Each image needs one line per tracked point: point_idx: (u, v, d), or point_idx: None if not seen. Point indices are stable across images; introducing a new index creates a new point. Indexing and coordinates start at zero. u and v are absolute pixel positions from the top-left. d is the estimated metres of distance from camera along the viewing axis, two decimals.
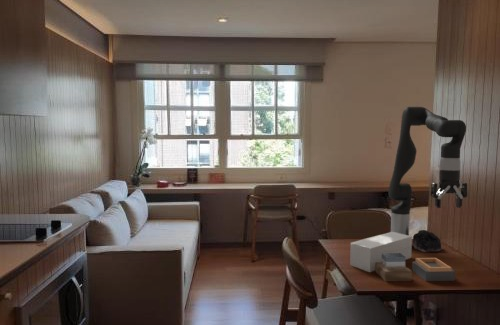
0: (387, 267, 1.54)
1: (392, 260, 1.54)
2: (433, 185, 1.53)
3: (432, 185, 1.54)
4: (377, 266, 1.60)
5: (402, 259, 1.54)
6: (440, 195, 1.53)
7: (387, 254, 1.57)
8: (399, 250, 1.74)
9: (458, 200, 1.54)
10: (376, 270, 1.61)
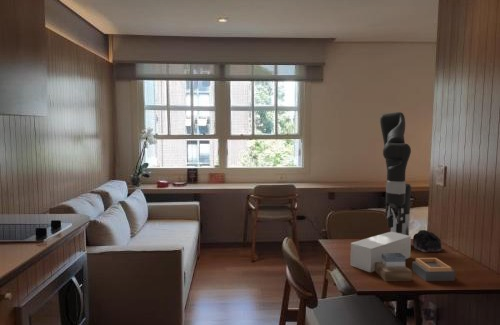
0: (387, 267, 1.54)
1: (392, 260, 1.54)
2: (403, 211, 1.48)
3: (401, 211, 1.48)
4: (377, 266, 1.60)
5: (402, 259, 1.54)
6: None
7: (387, 254, 1.57)
8: (399, 250, 1.74)
9: (391, 220, 1.59)
10: (376, 270, 1.61)
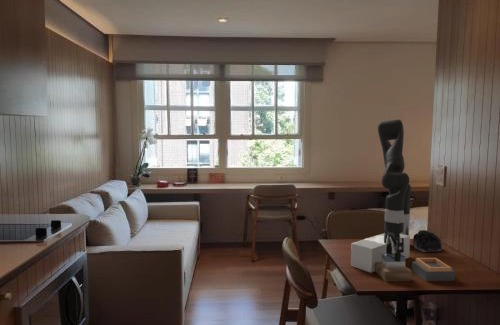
0: (387, 267, 1.54)
1: (392, 260, 1.54)
2: (401, 240, 1.49)
3: (400, 240, 1.49)
4: (377, 266, 1.60)
5: (402, 259, 1.54)
6: None
7: (387, 254, 1.57)
8: None
9: (390, 248, 1.60)
10: (376, 270, 1.61)
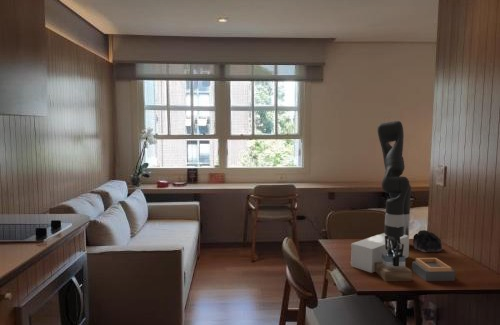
0: (387, 267, 1.54)
1: (392, 260, 1.54)
2: (401, 247, 1.49)
3: (399, 247, 1.49)
4: (377, 266, 1.60)
5: (402, 259, 1.54)
6: None
7: (387, 254, 1.57)
8: None
9: None
10: (376, 270, 1.61)
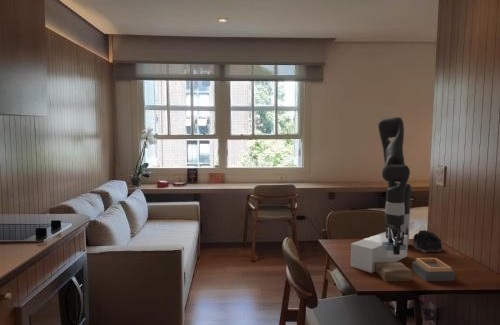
0: (388, 256, 1.54)
1: (393, 248, 1.54)
2: (402, 235, 1.49)
3: (400, 235, 1.49)
4: (377, 266, 1.60)
5: (403, 248, 1.54)
6: None
7: (388, 243, 1.57)
8: None
9: None
10: (376, 270, 1.61)
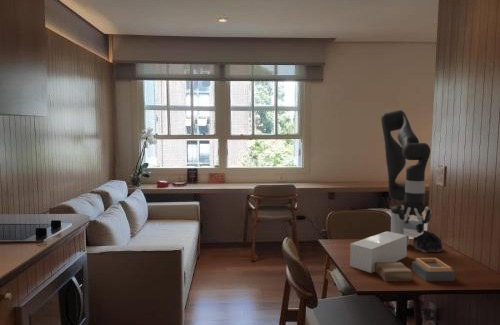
0: (416, 235, 1.52)
1: (418, 227, 1.53)
2: (431, 212, 1.51)
3: (430, 212, 1.50)
4: (377, 266, 1.60)
5: None
6: None
7: (409, 223, 1.55)
8: (396, 249, 1.75)
9: None
10: (376, 270, 1.61)
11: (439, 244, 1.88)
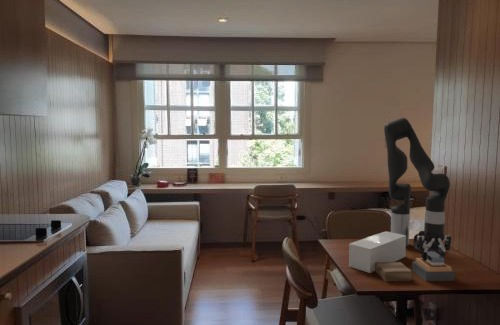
0: None
1: None
2: None
3: None
4: (377, 266, 1.60)
5: None
6: None
7: (433, 256, 1.55)
8: (395, 250, 1.75)
9: None
10: (376, 270, 1.61)
11: None
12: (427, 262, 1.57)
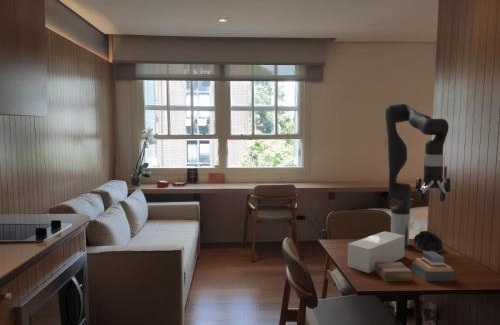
0: None
1: None
2: None
3: None
4: (377, 266, 1.60)
5: None
6: None
7: (433, 256, 1.55)
8: (394, 250, 1.74)
9: None
10: (376, 270, 1.61)
11: (440, 244, 1.87)
12: (427, 262, 1.57)
